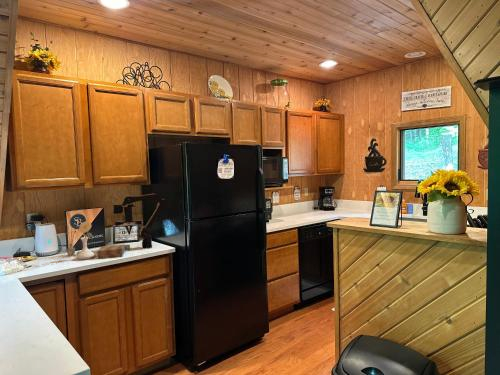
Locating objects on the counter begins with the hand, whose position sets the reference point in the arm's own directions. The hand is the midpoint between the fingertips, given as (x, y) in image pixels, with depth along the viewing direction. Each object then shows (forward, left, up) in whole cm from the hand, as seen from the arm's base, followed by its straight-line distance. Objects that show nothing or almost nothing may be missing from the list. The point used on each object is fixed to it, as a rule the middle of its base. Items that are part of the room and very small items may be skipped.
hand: (129, 234), depth 249 cm
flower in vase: (+26, +17, -11) cm, 33 cm away
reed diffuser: (+38, +2, -11) cm, 40 cm away
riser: (+2, +1, -11) cm, 11 cm away
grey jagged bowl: (+10, +14, -11) cm, 20 cm away
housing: (+11, +14, -11) cm, 21 cm away
